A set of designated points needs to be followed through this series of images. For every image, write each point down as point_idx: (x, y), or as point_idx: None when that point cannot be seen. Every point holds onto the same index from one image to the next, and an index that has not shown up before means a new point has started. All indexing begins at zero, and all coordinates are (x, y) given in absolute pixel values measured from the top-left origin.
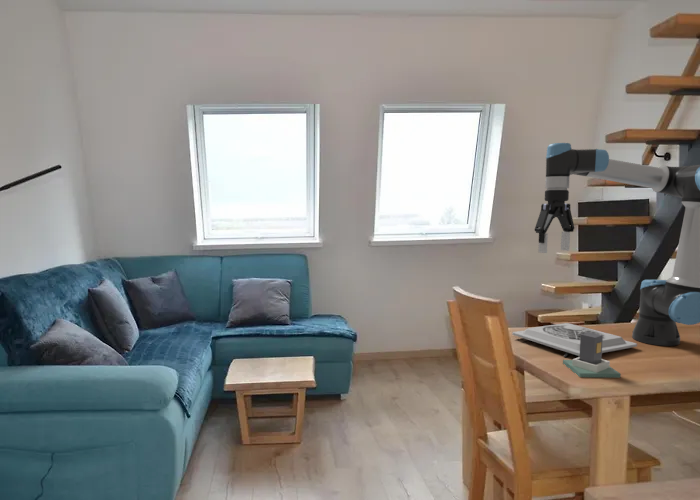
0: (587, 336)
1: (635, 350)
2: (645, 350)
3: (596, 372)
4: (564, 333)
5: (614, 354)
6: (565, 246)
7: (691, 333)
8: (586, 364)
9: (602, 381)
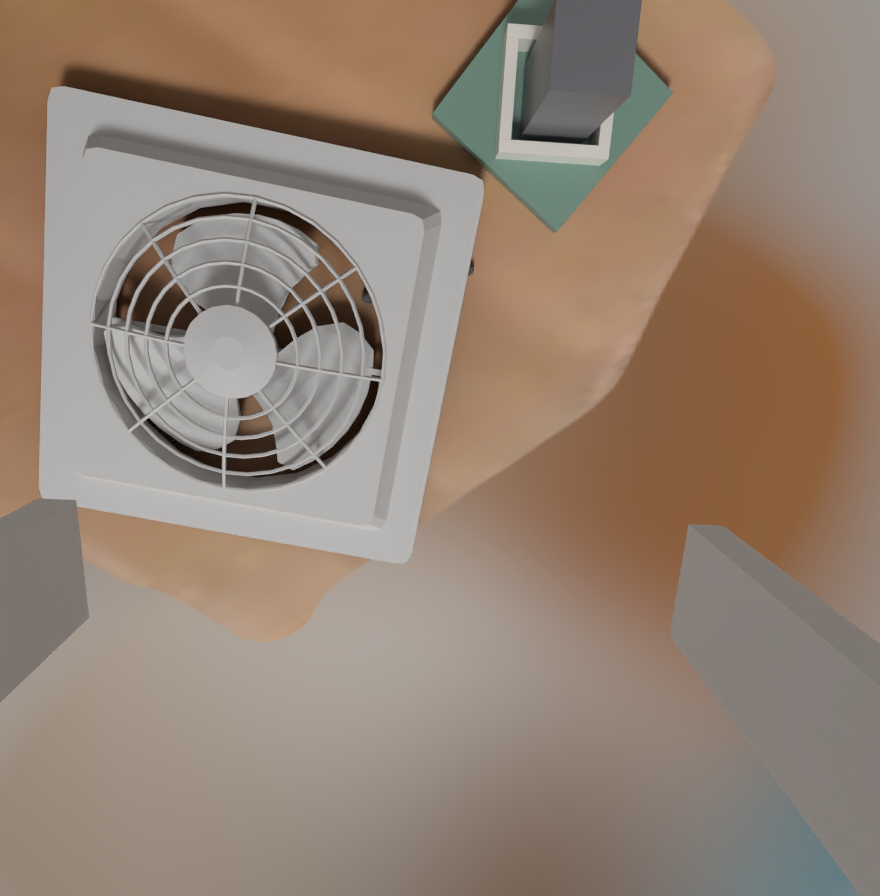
0: (634, 52)
1: None
2: (46, 60)
3: None
4: (340, 343)
5: None
6: (37, 576)
7: None
8: None
9: (645, 6)
